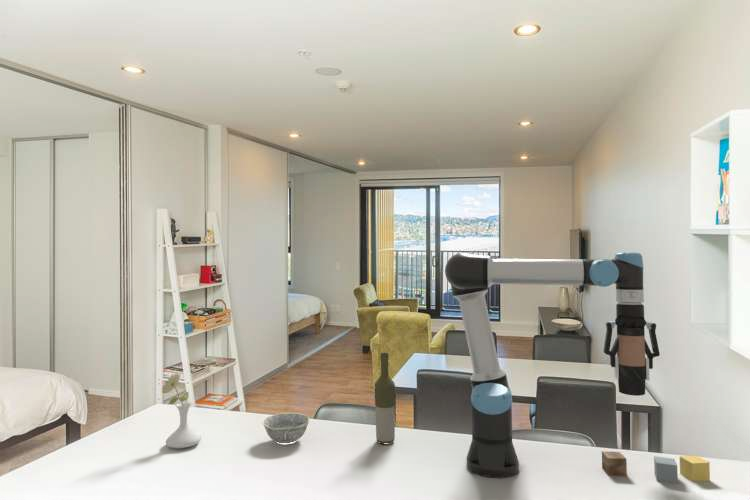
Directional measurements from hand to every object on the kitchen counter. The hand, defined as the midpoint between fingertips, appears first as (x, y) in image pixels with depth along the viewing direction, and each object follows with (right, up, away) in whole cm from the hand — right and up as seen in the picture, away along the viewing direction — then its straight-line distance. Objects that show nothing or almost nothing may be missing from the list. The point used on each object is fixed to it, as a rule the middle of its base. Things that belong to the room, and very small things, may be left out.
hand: (631, 378), depth 149 cm
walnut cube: (-9, -25, -7) cm, 28 cm away
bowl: (-108, -27, +20) cm, 113 cm away
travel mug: (0, -4, 0) cm, 4 cm away
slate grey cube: (+3, -25, -12) cm, 28 cm away
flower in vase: (-143, -27, +17) cm, 147 cm away
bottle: (-74, -27, +18) cm, 81 cm away
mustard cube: (+12, -25, -11) cm, 30 cm away
